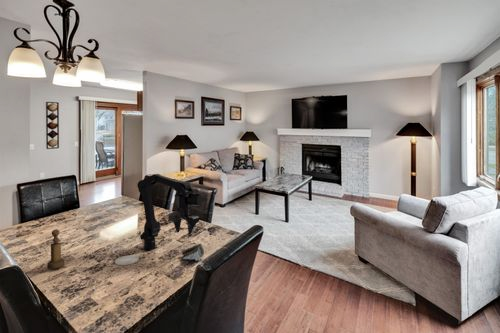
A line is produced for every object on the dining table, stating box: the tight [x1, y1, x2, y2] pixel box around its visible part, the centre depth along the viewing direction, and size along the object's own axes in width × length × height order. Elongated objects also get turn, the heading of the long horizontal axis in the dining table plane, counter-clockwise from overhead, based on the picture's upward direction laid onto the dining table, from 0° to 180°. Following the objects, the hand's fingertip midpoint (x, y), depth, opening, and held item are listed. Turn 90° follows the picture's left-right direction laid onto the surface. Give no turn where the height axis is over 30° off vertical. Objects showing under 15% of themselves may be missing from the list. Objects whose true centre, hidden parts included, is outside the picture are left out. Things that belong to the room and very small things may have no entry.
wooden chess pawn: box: [46, 228, 65, 270], centre depth 121 cm, size 7×6×18 cm
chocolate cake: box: [181, 243, 205, 261], centre depth 130 cm, size 10×7×12 cm
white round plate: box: [114, 254, 140, 266], centre depth 128 cm, size 11×11×1 cm
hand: (183, 233), depth 135 cm, fingers open, 9 cm apart
